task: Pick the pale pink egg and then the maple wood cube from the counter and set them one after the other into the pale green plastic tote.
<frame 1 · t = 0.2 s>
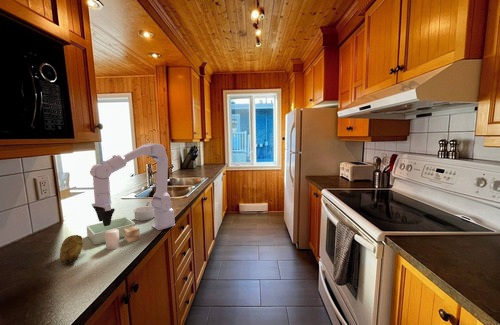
hand: (104, 223, 97), 10 cm above the countertop, fingers open, 7 cm apart
pale pink egg: (113, 246, 97), on the countertop
saucepan: (146, 216, 136), on the countertop
maple cube: (132, 239, 105), on the countertop
tote: (112, 234, 109), on the countertop
potato: (71, 259, 88), on the countertop
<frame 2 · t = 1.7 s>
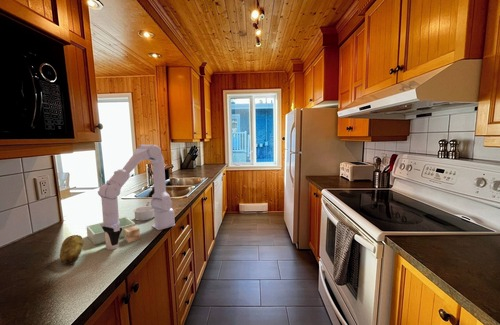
hand: (112, 242, 97), 2 cm above the countertop, fingers closed on pale pink egg, 5 cm apart
pale pink egg: (113, 246, 97), on the countertop, touching gripper
everything else where it was.
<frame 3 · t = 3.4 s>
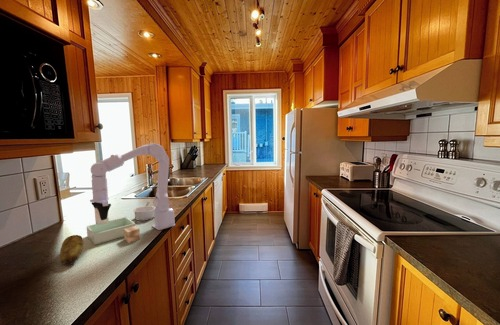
hand: (102, 218, 104), 10 cm above the countertop, fingers closed on pale pink egg, 5 cm apart
pale pink egg: (102, 222, 104), point 8 cm above the countertop, touching gripper
everything else where it was.
when the fingers open (4 cm above the countertop, at t = 5.1 s): pale pink egg drops 2 cm, resting on tote.
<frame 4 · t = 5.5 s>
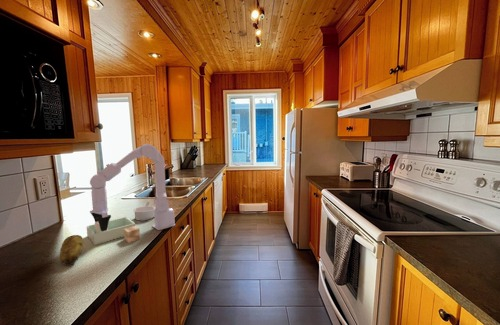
hand: (101, 228, 106), 4 cm above the countertop, fingers open, 7 cm apart
pale pink egg: (102, 236, 106), point 1 cm above the countertop, touching tote
everything else where it was.
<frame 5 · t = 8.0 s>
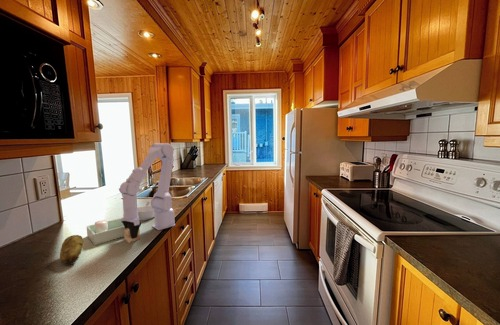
hand: (132, 236, 105), 1 cm above the countertop, fingers closed on maple cube, 5 cm apart
maple cube: (132, 239, 105), on the countertop, touching gripper
everything else where it was.
when the fingers open (4 cm above the countertop, at t = 11.4 s): maple cube drops 2 cm, resting on tote.
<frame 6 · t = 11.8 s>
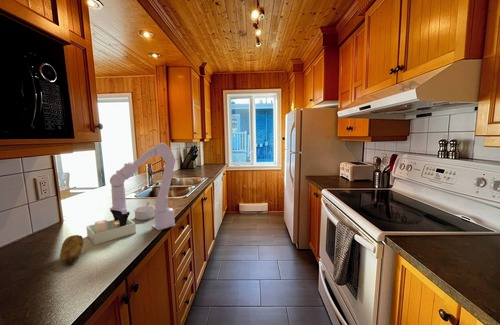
hand: (120, 224, 112), 4 cm above the countertop, fingers open, 7 cm apart
maple cube: (120, 231, 112), resting on tote
everything else where it was.
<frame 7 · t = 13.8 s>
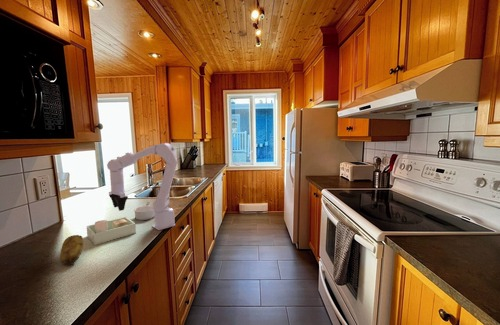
hand: (119, 208, 116), 10 cm above the countertop, fingers open, 7 cm apart
at the end: pale pink egg inside the target area on the tote (4.1 cm from its centre), point 0.5 cm above the tote's base; maple cube inside the target area on the tote (3.8 cm from its centre), point 0.5 cm above the tote's base; the gripper is holding nothing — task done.
